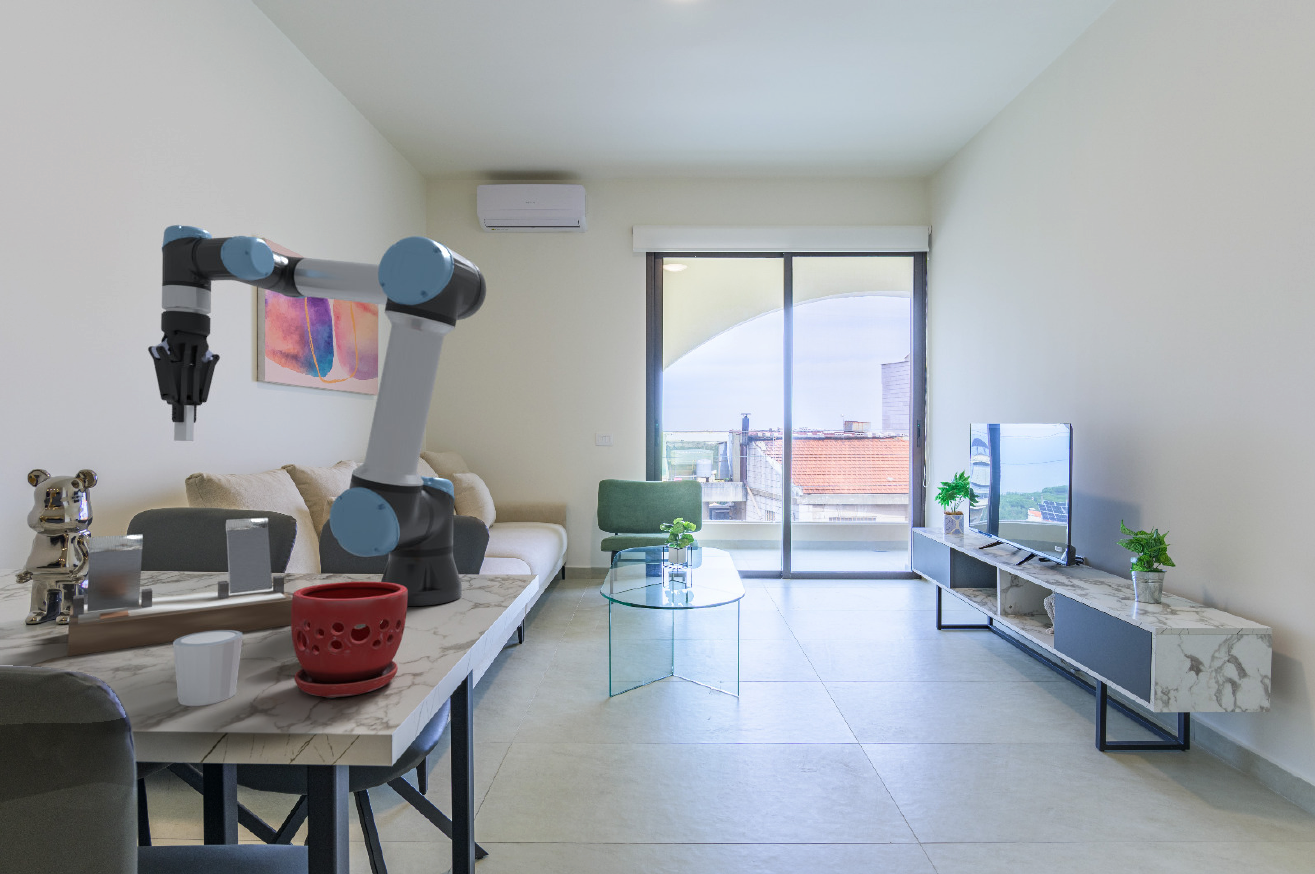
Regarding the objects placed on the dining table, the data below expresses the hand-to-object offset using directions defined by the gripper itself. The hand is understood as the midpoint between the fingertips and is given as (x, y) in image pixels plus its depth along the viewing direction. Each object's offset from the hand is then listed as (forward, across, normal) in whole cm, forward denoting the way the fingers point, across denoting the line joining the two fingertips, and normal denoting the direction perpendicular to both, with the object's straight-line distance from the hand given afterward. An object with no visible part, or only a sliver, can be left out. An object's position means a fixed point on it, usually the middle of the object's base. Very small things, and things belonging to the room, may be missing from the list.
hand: (183, 440), depth 128 cm
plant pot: (+30, +29, +58) cm, 71 cm away
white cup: (+30, +37, +45) cm, 65 cm away
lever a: (+25, +8, +23) cm, 35 cm away
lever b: (+25, +22, +12) cm, 35 cm away
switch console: (+29, +15, +17) cm, 37 cm away
